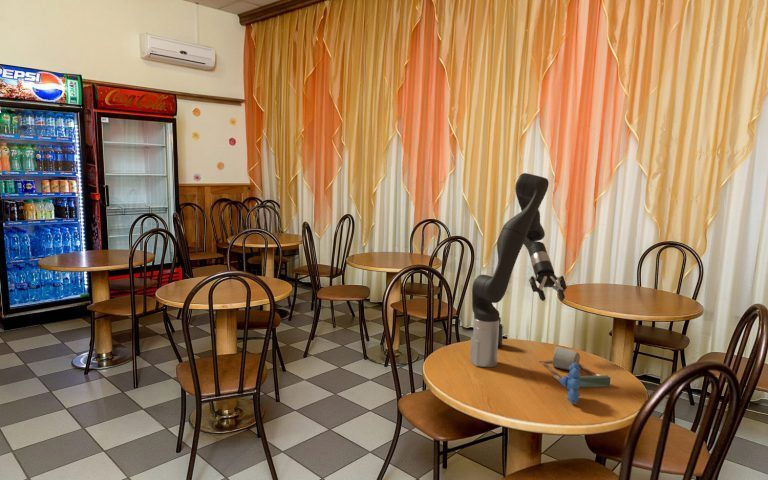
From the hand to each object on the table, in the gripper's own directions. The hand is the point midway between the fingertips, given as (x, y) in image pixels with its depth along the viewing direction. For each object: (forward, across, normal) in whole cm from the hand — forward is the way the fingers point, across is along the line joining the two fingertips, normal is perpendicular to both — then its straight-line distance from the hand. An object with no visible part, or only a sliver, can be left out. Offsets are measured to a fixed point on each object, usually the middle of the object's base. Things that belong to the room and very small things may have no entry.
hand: (553, 299), depth 190 cm
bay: (+29, 0, +3) cm, 29 cm away
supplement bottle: (+7, -18, +25) cm, 32 cm away
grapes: (+43, -12, -11) cm, 46 cm away
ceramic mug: (+25, 0, +7) cm, 26 cm away
